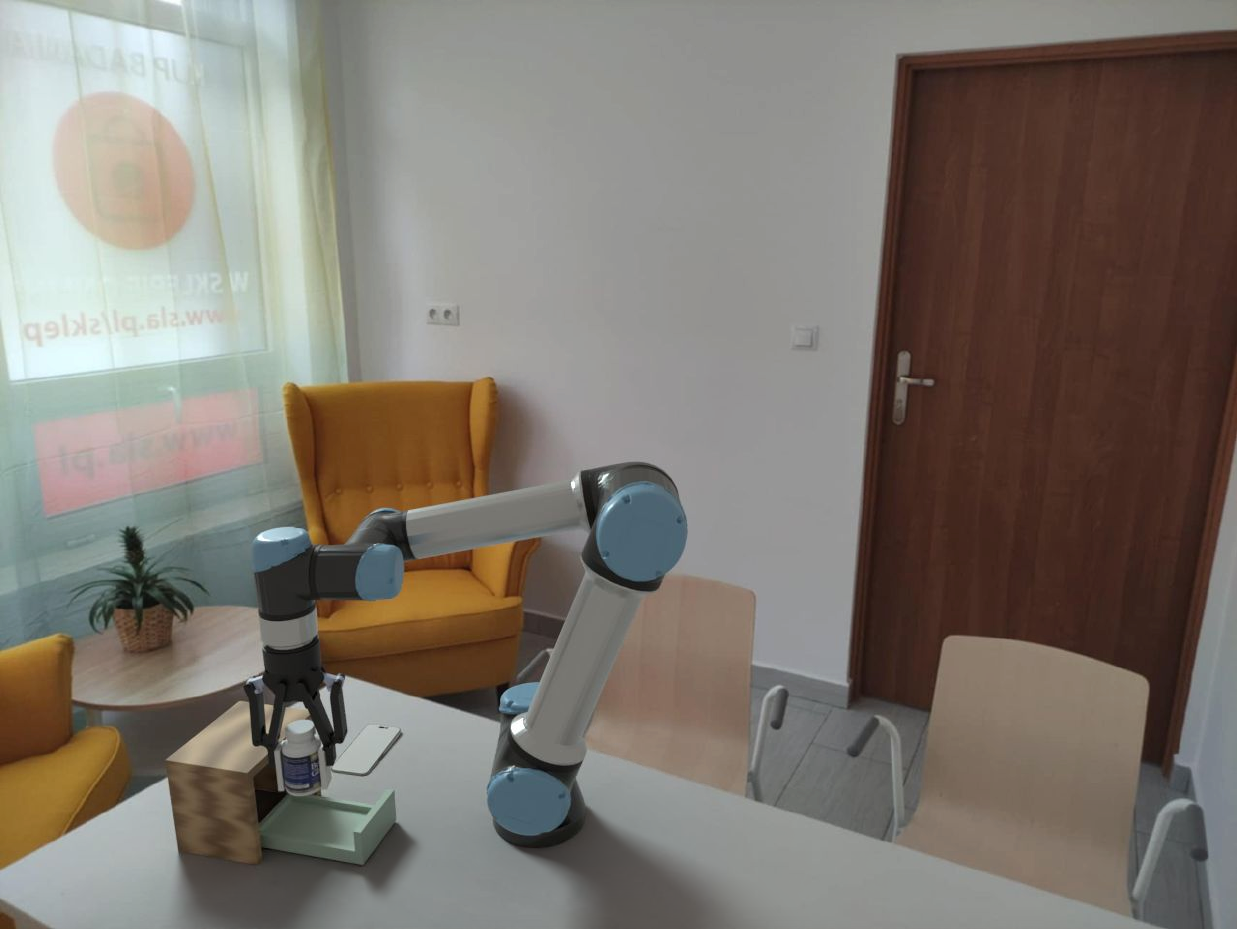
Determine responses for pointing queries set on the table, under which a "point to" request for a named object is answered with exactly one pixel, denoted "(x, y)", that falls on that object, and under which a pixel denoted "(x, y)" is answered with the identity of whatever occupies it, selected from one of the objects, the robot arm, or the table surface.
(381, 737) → the smartphone
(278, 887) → the table surface
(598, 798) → the table surface
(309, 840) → the tray
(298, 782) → the pill bottle
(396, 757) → the table surface
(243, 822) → the wooden drawer cabinet
